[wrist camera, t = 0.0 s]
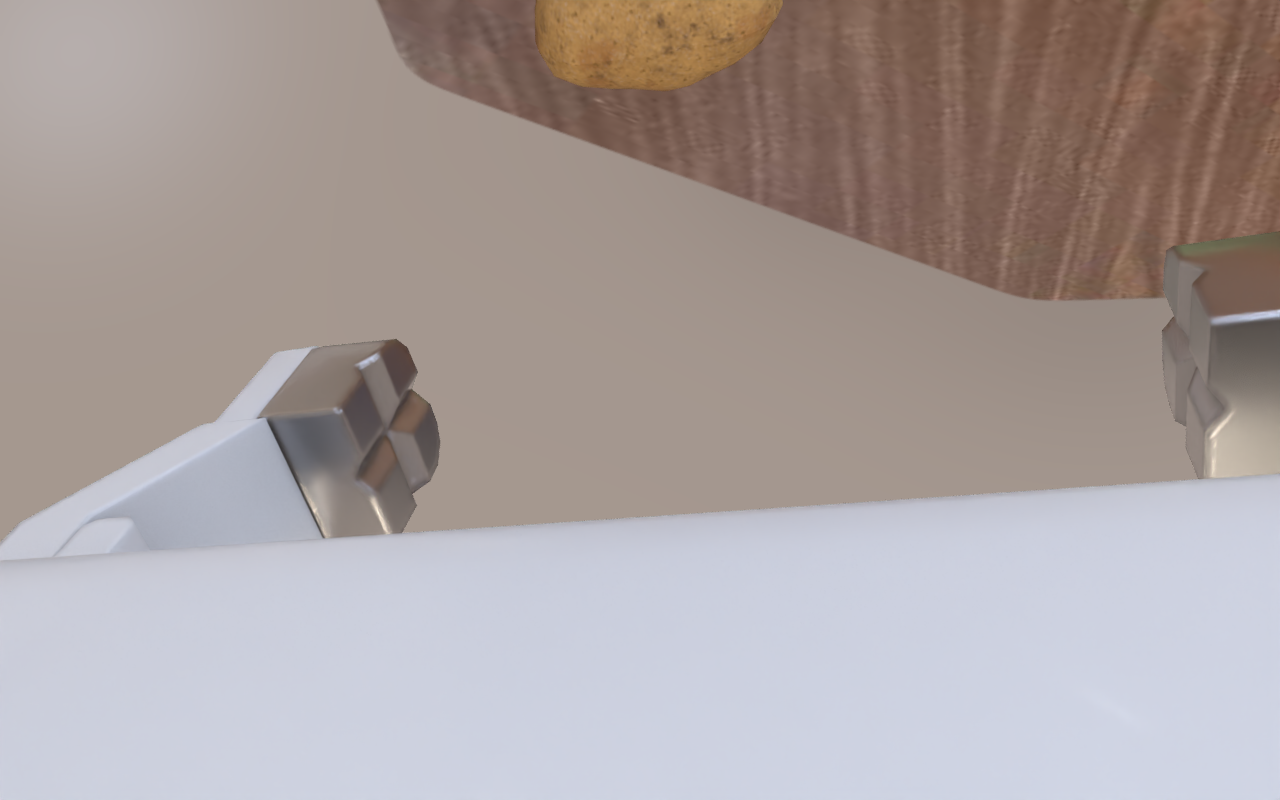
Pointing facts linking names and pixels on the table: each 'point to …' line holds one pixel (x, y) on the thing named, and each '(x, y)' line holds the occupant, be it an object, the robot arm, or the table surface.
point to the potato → (648, 39)
